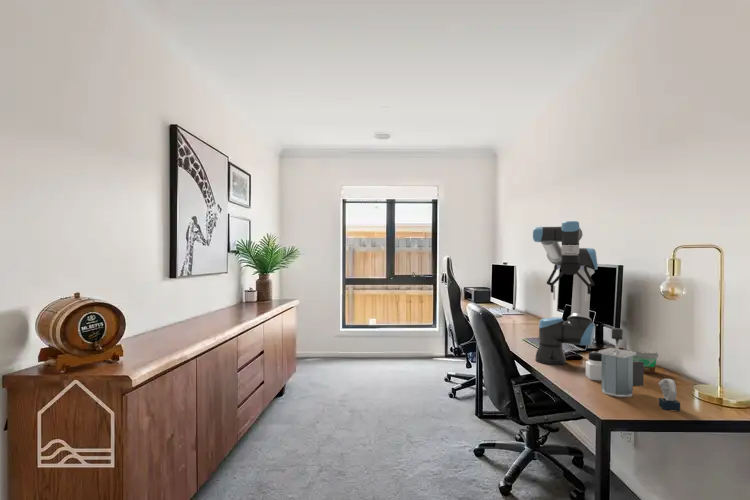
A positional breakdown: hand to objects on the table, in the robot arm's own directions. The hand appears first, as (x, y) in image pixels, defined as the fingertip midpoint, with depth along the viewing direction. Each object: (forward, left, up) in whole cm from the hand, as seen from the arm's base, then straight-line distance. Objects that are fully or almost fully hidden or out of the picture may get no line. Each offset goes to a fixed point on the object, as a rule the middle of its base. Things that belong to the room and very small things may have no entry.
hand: (570, 300), depth 202 cm
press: (+1, +23, -36) cm, 43 cm away
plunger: (+3, +23, -33) cm, 40 cm away
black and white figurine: (-11, +7, -37) cm, 39 cm away
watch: (+5, +43, -37) cm, 56 cm away
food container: (-41, +16, -37) cm, 57 cm away
